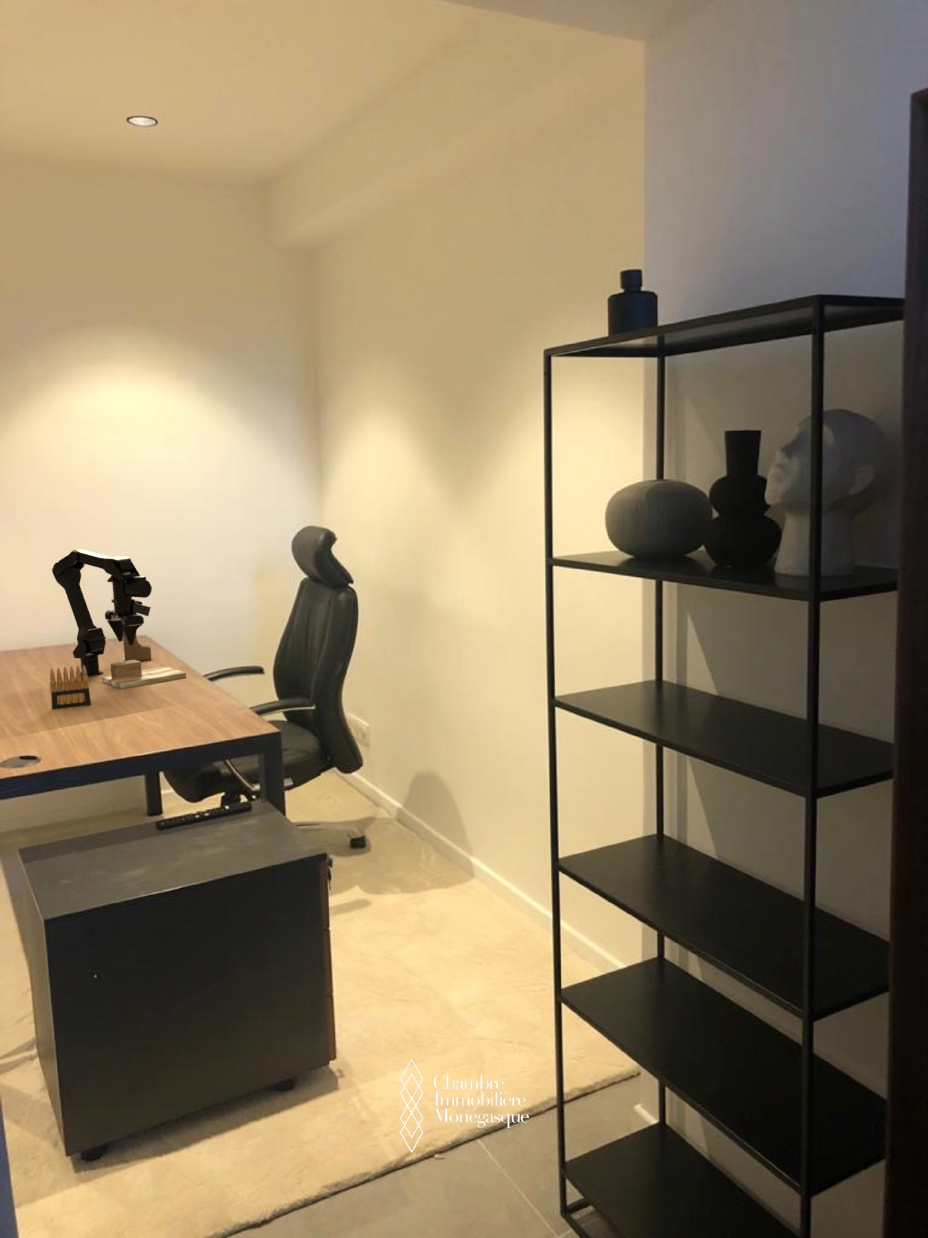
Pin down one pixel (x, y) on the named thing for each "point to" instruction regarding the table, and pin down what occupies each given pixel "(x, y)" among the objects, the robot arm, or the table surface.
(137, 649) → the wooden block
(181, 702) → the table surface
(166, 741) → the table surface
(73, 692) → the ammunition clip
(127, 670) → the block
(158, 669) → the pine board
